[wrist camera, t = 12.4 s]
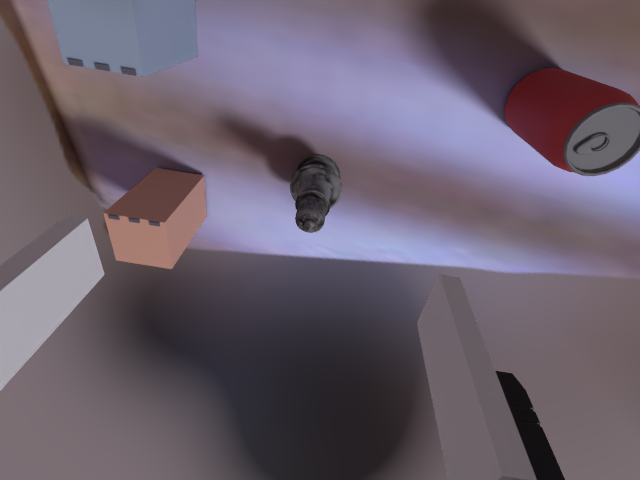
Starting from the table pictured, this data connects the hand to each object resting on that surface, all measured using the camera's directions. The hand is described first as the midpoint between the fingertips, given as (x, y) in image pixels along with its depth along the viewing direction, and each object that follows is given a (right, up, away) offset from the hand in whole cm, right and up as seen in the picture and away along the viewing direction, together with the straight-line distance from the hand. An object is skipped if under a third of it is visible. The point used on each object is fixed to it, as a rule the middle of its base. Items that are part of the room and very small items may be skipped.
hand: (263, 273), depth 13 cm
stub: (-16, +7, +31) cm, 36 cm away
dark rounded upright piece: (+2, +9, +29) cm, 30 cm away
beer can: (+24, +16, +22) cm, 36 cm away
